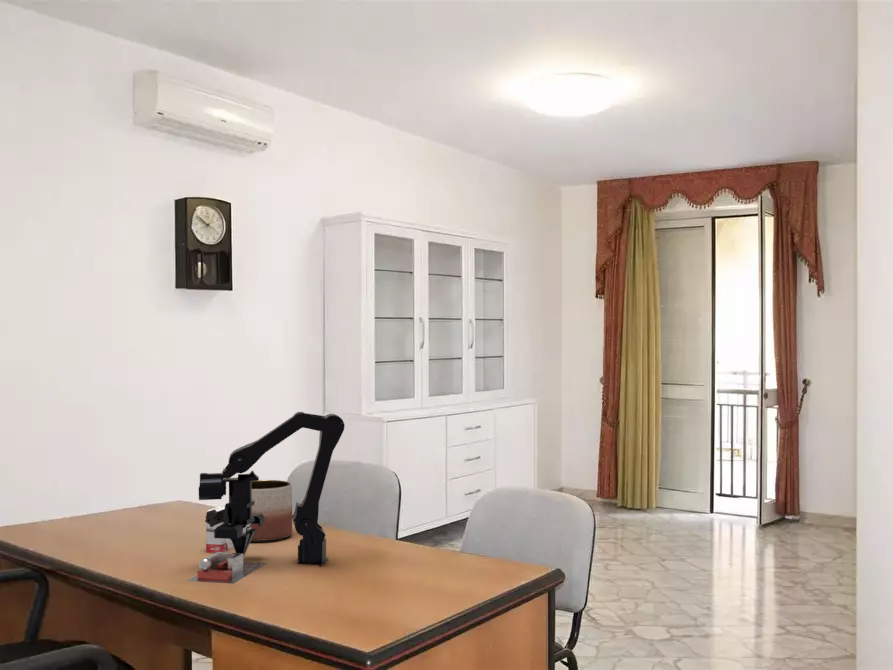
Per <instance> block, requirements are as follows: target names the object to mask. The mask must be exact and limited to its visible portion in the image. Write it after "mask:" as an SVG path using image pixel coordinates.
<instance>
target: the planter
mask: <svg viewBox="0 0 893 670" xmlns="http://www.w3.org/2000/svg"><path fill="white" fill-rule="evenodd" d="M252 501H254V505H253V506H252V513H258V514H262V515H263V516H264V517H265V524H264V525H262V526H259V525H258V524H251V525H250V527H251V529H255V530H256V532H255V533H254V535H253V537H252V539H251V542H250V543H270V542H276V541H277V542H278V541H280V540H284V539H286V538H288V537H290V536H291V535H292V534H293V519H292V515H293V485H292V482H290V481H288V480H287V481H286V480H278V479H259V480H258V481H252Z"/></svg>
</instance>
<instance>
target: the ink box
mask: <svg viewBox="0 0 893 670" xmlns="http://www.w3.org/2000/svg"><path fill="white" fill-rule="evenodd" d="M223 509H225V505H218V506H216V507H213V508H209V509H208V510H206V514H207V512H208V511H211V510H216V511H220V510H223ZM206 514H205V515H206ZM205 523H206V522H205ZM222 524H224V522H222V523H219V524H217V525H214V526H213V527H210V525H209V524H208V523H206V524H205V526H206V527H205V529H206V530H205V531H206V532H205V534H206V535H205V552H206V553H212V554H214V553H216V552H227V551H228V550H231V549H232V548H233V549H234V546H233V543H232V541H231V539H224V538H214V530H215V529H216V528H217V527H218V526H220V525H222Z"/></svg>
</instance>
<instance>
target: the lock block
mask: <svg viewBox="0 0 893 670" xmlns="http://www.w3.org/2000/svg"><path fill="white" fill-rule="evenodd" d="M205 558H208V559H210V560H211V562H212V566H211V568H210V569H209V570H217V564H218V563H220V562H222V561H224V560H228V571H232V578H233V577H234V576H236V575H238V574H240V573H241V572H243V562H244V557H243V553H236V552H227V551H225V552H216V553H212V554H211V555H208V556H206V557H205Z"/></svg>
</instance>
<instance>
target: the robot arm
mask: <svg viewBox="0 0 893 670" xmlns="http://www.w3.org/2000/svg"><path fill="white" fill-rule="evenodd" d="M345 426H346V425H345V422H344V420H343V419H342V417H340V416H338V415H337V414H336V413H335V414H334V413H329V414H326V415H319V414H312V413H306V412H304V411H297V412H295V413H294V414H293V415H292V416H291V417H290V418H288V419H286V420H285V421H283V422H282V423H280V424H279V425H278V426H276V427H275V428H274V429H272V430H270V431H269V432H268V433H266V434H264V435H263V436H261V437H260V438H259V439H257V440H254V441H252V442H250V443H247V444H245V445H242V446H240V447H239V448H236V449H234V450H232V452H231V453H230V454H229V457H228V463H227V464H226V466H225V467H224V468H223V469H222V472H215V473H212V472H211V473H209V472H208V473H207V472H201V473H200V474H199V486H198V500H199V501H209V500H210V501H213V500H223V499H222V497H224V496H226V495H227V483H228V502H226V503H225V504H224V506H225V509H223V510H220V511H216V510H211V511H208V512H207V511H206V512H207V514H205V515H206V516H205V523H208V524H209V525H210V527H213V526H214V525H217V524H219V523H222V522H224V524H222V525H220V526H218V527H217V528H216V529H215V530H214V538H224V539H231V541H232V543H233V546H234V547H233V549H234V551H235V552H234V553H243V558H244V557H245V555H246V553H247V550H248V549H249V545H250V543H252V542H251V539H252V537H253V535H254V533H255V532H256V530H255V529H251V527H250V525H251V524H258V525H259V526H262V525H264V524H265V517H264V516H263V515H262V514H258V513H252V506H253V505H254V501H252V481H258V480H260V479H259V478H260V477H259V475H257V474H256V473H255V472H254V470H251V471H250V472H249V473H246V472H247V471H249V470H250V469H251V468H252V466H254V465H255V464H256V463H257V462H258V461H259V460H260V459H261V458H262V456H264V454H266V453H268V452H269V451H270V450H272V449H273V448H274V447H276V446H277V445H279V444H280V443H281V442H284V440H286V439H288V438H289V437H291V436H292V435H293V434H295V433H296V432H298V431H299V430H301V429H308V430H311V431H318V432H319V437H318V439H319V441H318V449H317V452H316V455H315V459H314V463H313V466H312V470H311V474H310V476H309V477H310V478H309V481H308V484H307V489H306V492H305V495H304V498H303V500H302V501H301V502H298V501H297V502H295V510H294V513H292V523H293V525H294V529H295V532H296V533H297V534H298V535H299V536H302V538H300V539H299V544H298V545H297V561H298V562H297V563H296V564H297V565H311V566H312V565H313V566H318V567H321V566H323V565H325V563H327V562H328V561H329V558H327V538H326V533H325V530H324V528H323V527H322V526H321V525H320V524H319V523H318V522H319V508H320V499H321V496H322V492H323V488H324V485H325V481H326V478H327V474H328V470H329V466H330V463H331V460H332V456H333V452H334V451H335V450H334V449H336V446H337V445H338V443H339V441H340V439H341V437H342V435H343V433H344V431H345ZM236 474H237V477H234V476H235V475H236Z"/></svg>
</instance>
